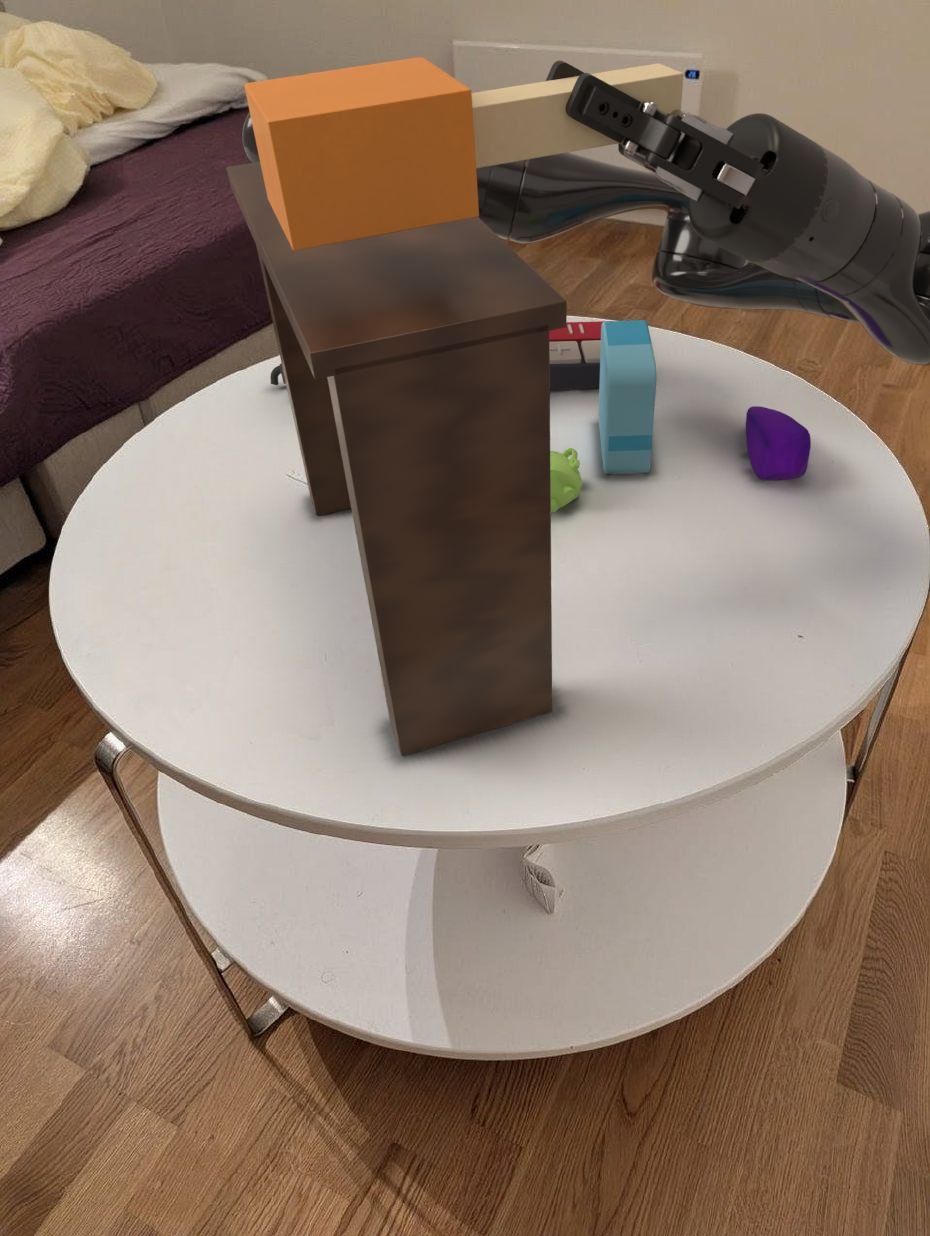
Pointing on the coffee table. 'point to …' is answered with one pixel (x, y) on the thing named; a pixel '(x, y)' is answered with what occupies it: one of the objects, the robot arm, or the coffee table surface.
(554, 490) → the whimsical teapot
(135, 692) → the coffee table surface
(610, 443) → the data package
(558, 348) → the calculator
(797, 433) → the crystal
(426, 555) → the shelf
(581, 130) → the toy hammer
